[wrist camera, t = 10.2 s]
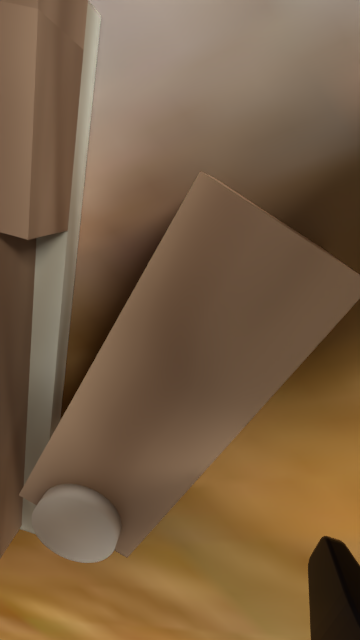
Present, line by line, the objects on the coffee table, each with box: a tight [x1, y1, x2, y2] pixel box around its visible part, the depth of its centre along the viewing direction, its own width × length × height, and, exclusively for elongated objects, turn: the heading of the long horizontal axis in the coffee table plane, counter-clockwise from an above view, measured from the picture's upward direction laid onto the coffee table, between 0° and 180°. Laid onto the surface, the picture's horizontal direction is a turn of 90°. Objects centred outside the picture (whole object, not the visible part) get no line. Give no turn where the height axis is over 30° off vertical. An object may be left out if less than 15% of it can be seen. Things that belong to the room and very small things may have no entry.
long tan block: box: [19, 171, 360, 563], centre depth 12 cm, size 5×14×5 cm, turn 149°
